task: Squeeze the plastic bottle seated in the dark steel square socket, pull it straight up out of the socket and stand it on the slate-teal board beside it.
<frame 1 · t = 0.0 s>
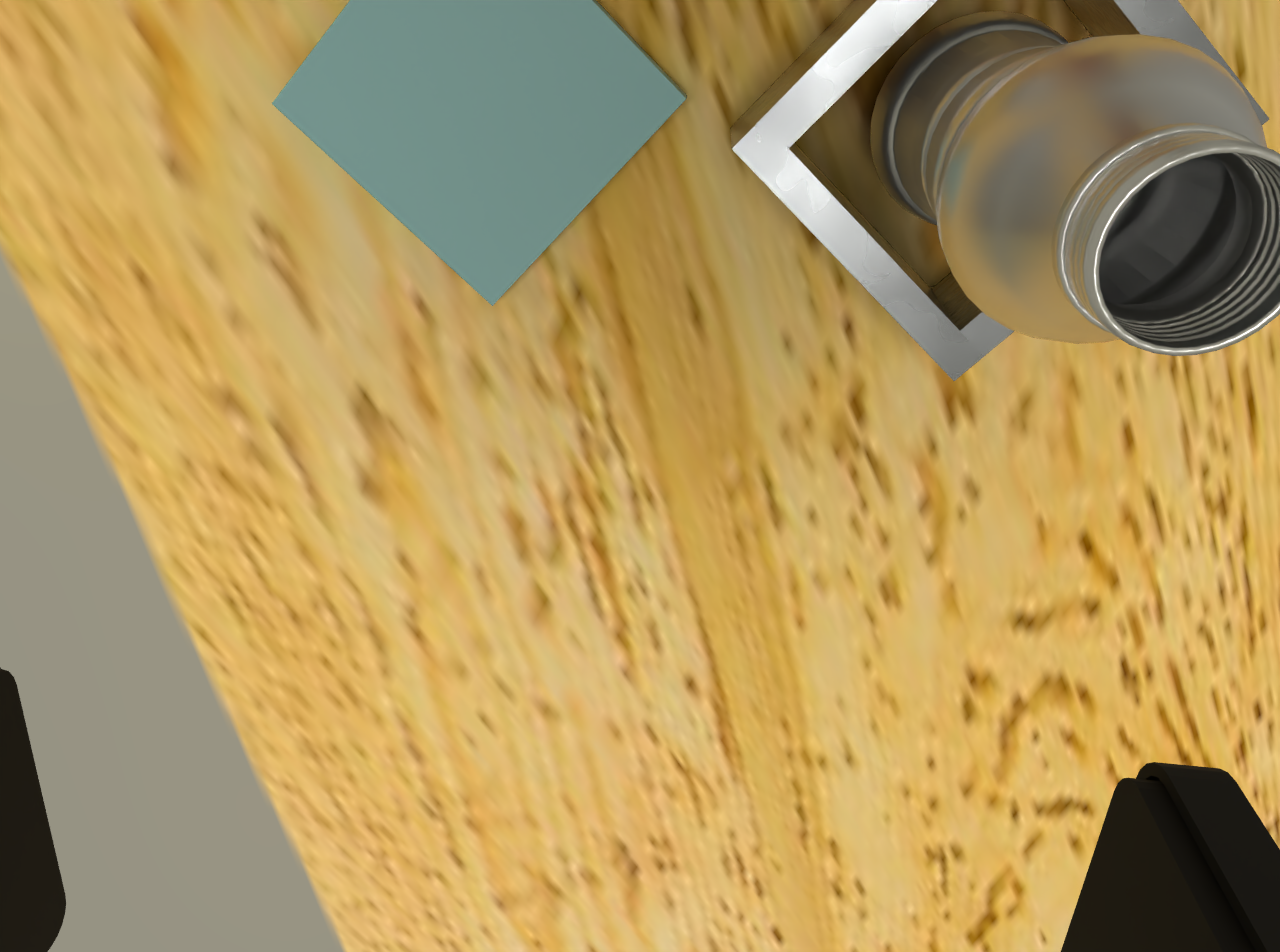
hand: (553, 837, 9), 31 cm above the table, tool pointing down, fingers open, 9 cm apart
square socket: (959, 114, 36), on the table
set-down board: (482, 98, 36), on the table
plastic bottle: (958, 114, 36), resting in square socket
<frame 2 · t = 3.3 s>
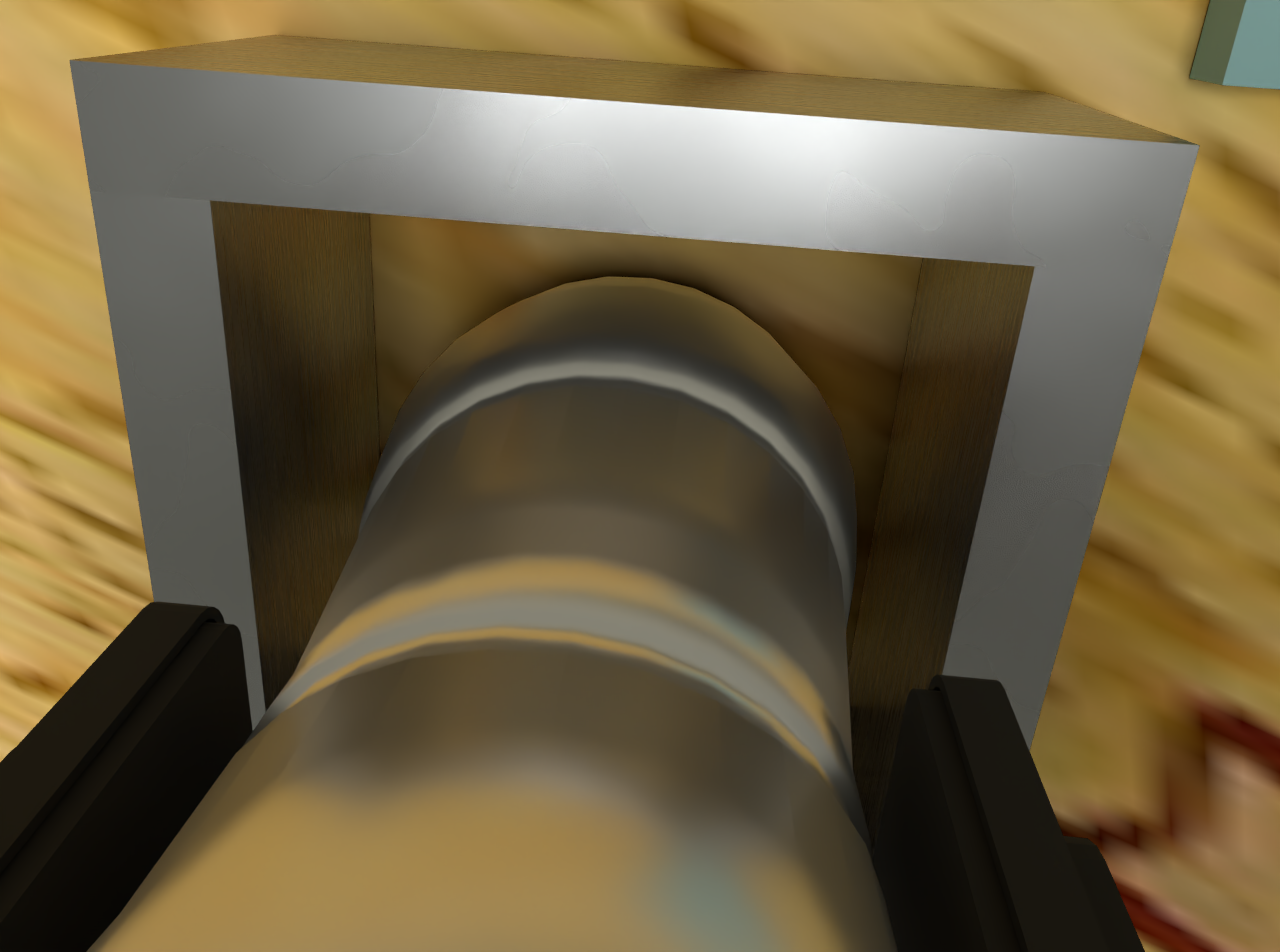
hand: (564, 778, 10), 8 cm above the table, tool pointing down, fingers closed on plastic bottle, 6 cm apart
square socket: (629, 450, 17), on the table
plastic bottle: (630, 444, 17), resting in square socket, touching gripper
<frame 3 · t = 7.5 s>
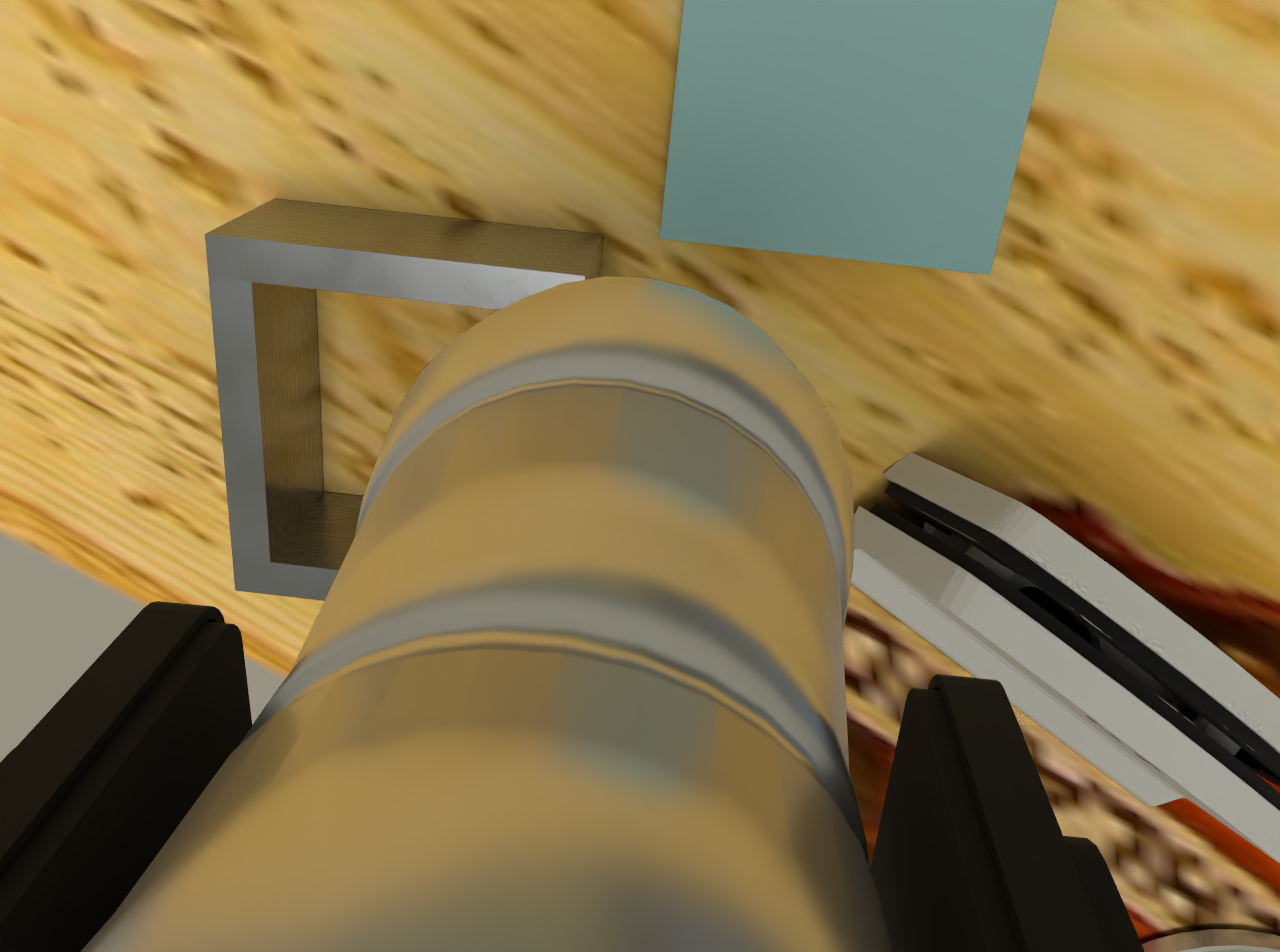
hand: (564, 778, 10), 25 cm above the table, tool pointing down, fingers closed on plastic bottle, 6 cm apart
square socket: (436, 386, 36), on the table
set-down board: (850, 78, 31), on the table
plastic bottle: (628, 443, 17), point 18 cm above the table, touching gripper
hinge: (1051, 602, 38), on the table
when the fingers open (10 cm above the table, at t = 11.8 s): plastic bottle drops 1 cm, resting on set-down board.
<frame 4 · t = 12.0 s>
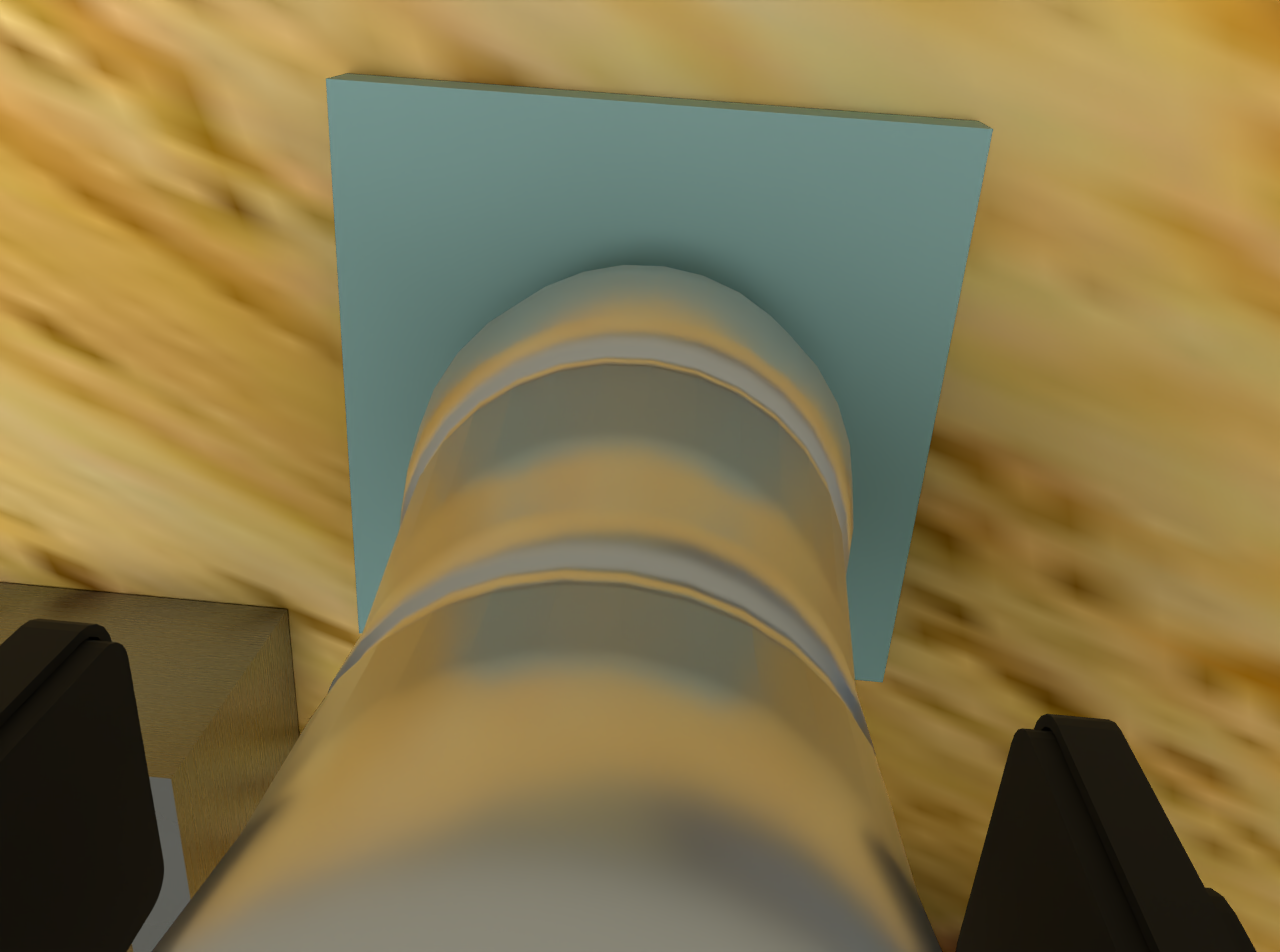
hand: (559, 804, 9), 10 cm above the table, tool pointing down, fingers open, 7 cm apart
square socket: (81, 801, 24), on the table
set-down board: (639, 392, 19), on the table
plastic bottle: (640, 419, 18), point 1 cm above the table, touching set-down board
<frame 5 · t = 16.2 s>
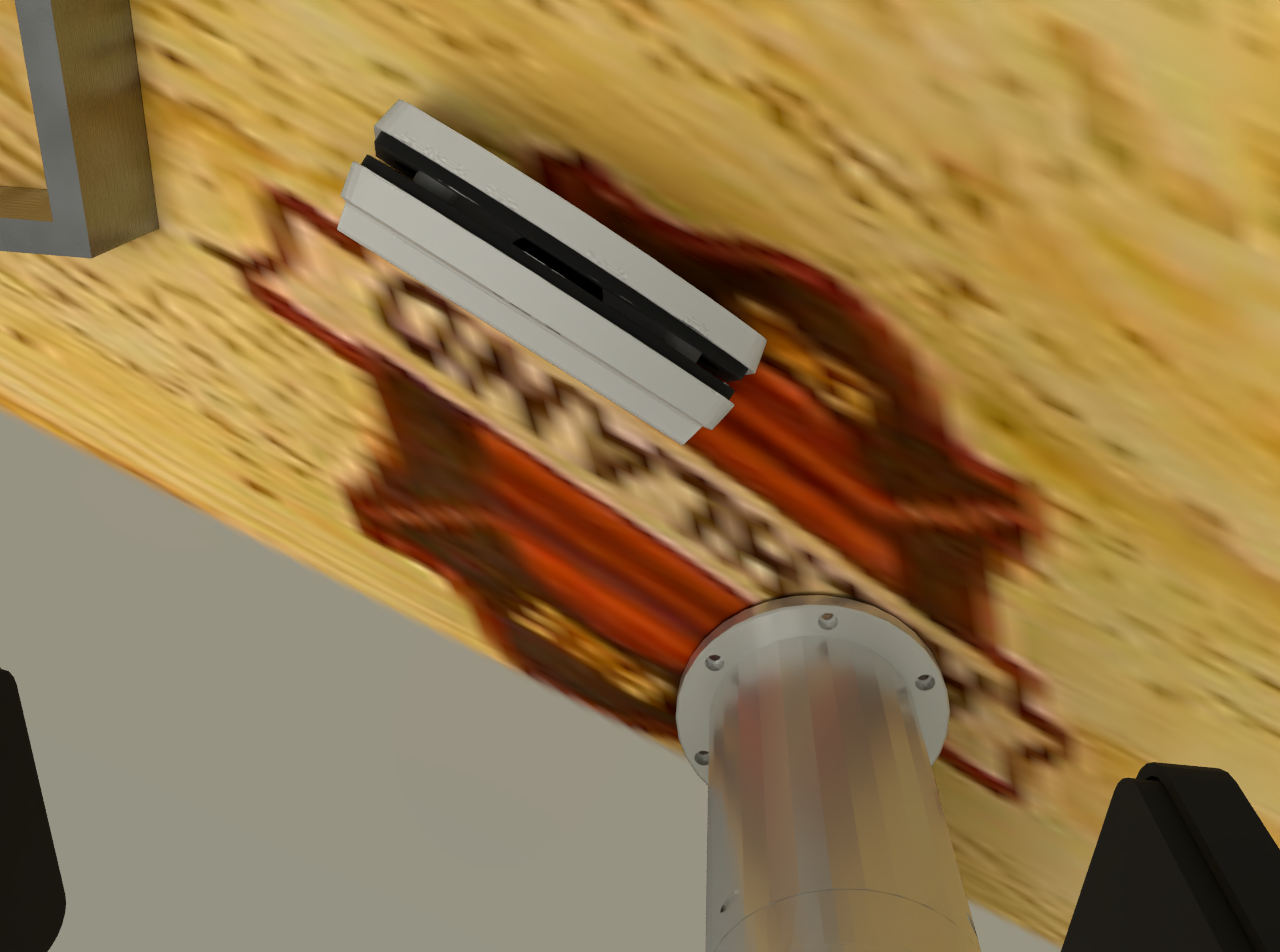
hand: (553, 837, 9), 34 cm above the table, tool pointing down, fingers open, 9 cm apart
square socket: (4, 67, 40), on the table
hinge: (565, 260, 42), on the table
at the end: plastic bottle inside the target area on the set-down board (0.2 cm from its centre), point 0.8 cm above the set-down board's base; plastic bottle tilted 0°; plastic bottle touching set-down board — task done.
